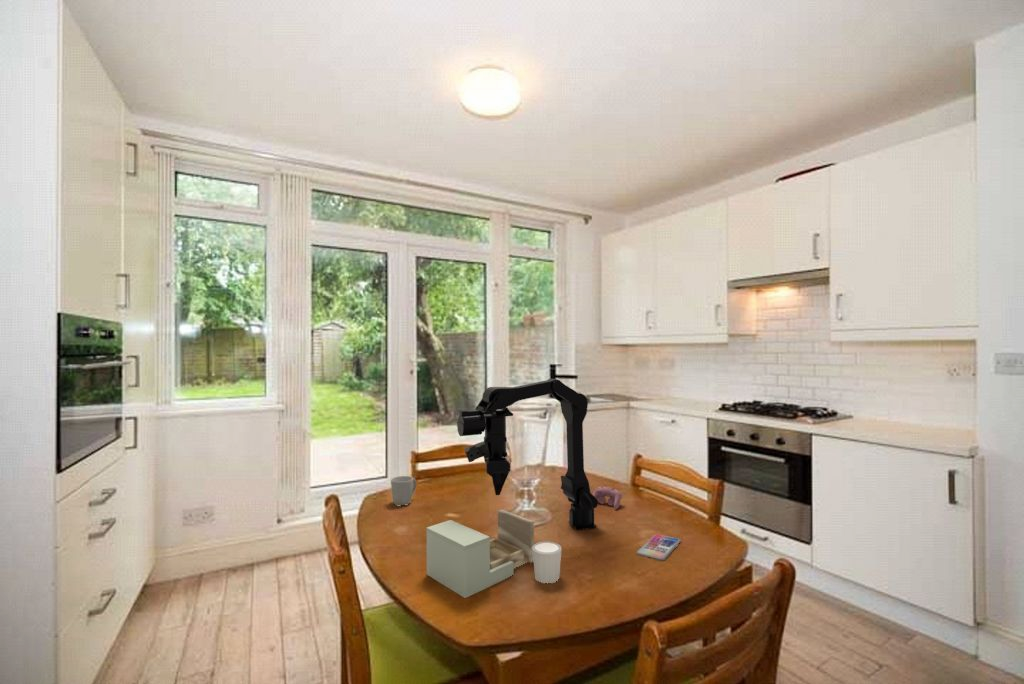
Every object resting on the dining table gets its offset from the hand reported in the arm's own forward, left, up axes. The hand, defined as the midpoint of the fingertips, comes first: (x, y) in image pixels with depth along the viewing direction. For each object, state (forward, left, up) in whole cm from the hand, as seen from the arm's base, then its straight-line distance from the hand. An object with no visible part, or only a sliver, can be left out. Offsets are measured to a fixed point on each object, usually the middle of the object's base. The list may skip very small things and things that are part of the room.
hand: (496, 489), depth 128 cm
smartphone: (-40, +16, -15) cm, 46 cm away
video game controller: (-42, -18, -15) cm, 48 cm away
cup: (+23, -41, -14) cm, 49 cm away
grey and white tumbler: (-6, +23, -14) cm, 28 cm away
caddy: (+11, +17, -14) cm, 24 cm away
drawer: (+3, +12, -14) cm, 19 cm away
